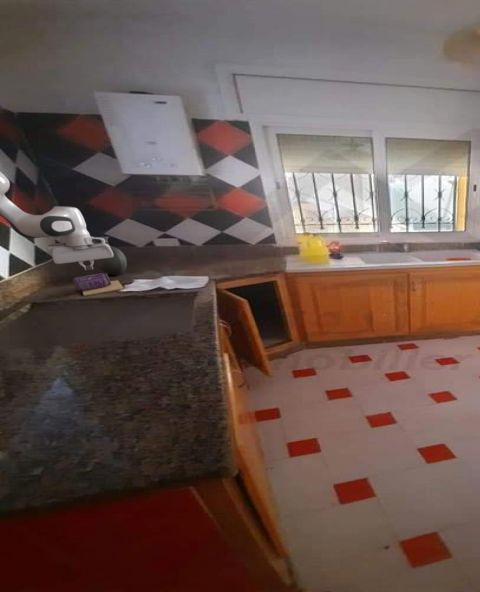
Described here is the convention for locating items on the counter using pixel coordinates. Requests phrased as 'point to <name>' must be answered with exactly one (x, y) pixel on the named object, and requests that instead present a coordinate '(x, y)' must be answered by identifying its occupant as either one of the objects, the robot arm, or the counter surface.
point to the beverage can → (91, 282)
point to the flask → (112, 261)
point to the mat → (105, 288)
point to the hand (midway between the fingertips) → (89, 269)
